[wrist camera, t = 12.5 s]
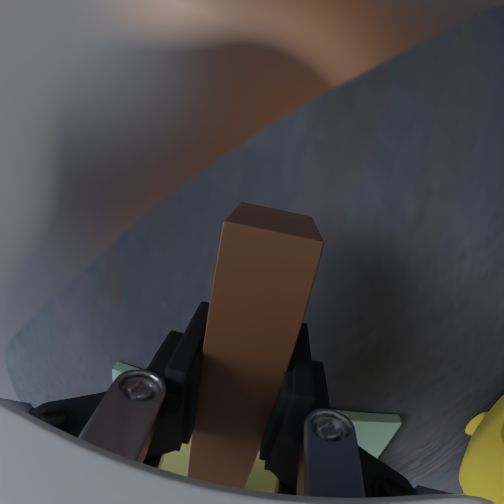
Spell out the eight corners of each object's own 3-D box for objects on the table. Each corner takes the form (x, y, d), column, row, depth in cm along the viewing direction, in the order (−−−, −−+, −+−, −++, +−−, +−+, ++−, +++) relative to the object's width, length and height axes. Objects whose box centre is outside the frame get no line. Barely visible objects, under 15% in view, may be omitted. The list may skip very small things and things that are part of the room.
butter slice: (159, 462, 17) (145, 498, 14) (159, 427, 16) (141, 467, 13) (207, 474, 17) (197, 512, 14) (213, 441, 16) (203, 484, 13)
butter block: (222, 478, 17) (214, 516, 14) (231, 445, 16) (222, 488, 13) (325, 490, 17) (327, 527, 13) (347, 459, 15) (353, 500, 12)
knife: (240, 201, 10) (221, 222, 7) (312, 217, 10) (326, 244, 6) (189, 516, 16) (180, 551, 13) (221, 523, 16) (213, 559, 13)
